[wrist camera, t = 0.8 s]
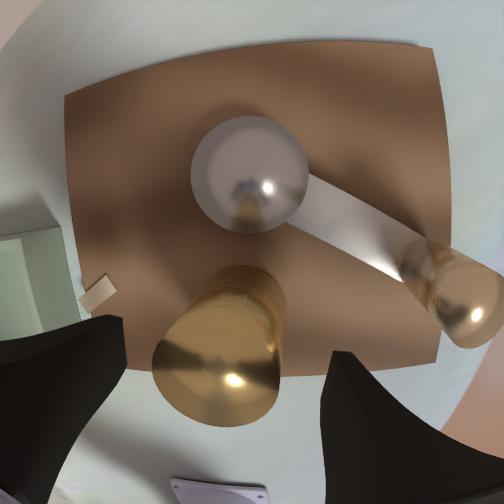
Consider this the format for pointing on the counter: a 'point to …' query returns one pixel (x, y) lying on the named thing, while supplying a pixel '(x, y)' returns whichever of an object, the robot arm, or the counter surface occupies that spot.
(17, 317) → the tray
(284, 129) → the crank
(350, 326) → the crank base
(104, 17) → the counter surface
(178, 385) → the pin
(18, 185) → the counter surface
